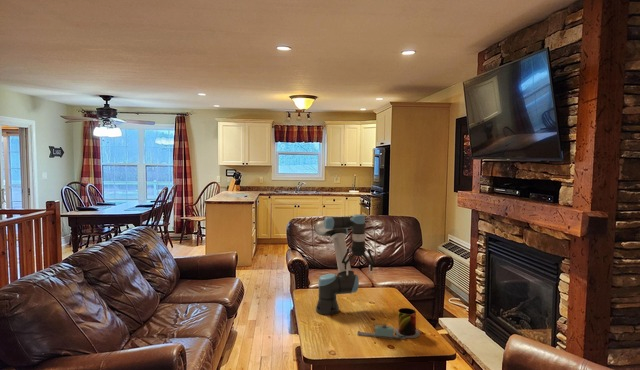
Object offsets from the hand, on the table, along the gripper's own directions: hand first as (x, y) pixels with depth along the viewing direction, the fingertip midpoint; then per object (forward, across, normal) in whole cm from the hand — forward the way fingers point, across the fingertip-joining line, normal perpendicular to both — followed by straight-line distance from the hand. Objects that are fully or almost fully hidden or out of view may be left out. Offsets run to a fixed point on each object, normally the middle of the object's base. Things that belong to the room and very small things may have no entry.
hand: (358, 275), depth 228 cm
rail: (+28, +15, -17) cm, 36 cm away
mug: (+28, +28, -8) cm, 40 cm away
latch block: (+27, +16, -17) cm, 36 cm away
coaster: (+28, +29, -9) cm, 42 cm away
